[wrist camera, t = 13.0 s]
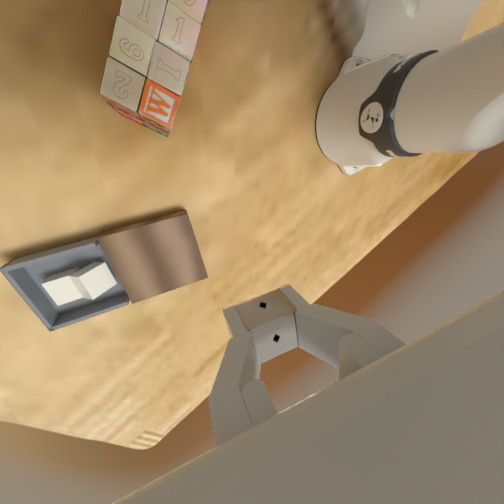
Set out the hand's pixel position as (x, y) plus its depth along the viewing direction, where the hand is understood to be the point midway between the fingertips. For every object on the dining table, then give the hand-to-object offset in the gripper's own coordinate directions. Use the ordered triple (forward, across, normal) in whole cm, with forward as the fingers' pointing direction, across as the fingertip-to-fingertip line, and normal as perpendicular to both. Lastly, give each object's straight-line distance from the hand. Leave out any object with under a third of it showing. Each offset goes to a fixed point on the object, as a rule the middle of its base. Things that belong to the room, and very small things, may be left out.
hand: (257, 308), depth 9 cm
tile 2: (+29, +18, +8) cm, 35 cm away
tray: (+31, +20, +8) cm, 38 cm away
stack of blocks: (+32, -4, -19) cm, 37 cm away
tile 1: (+28, +21, +8) cm, 36 cm away
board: (+31, +7, +8) cm, 33 cm away
